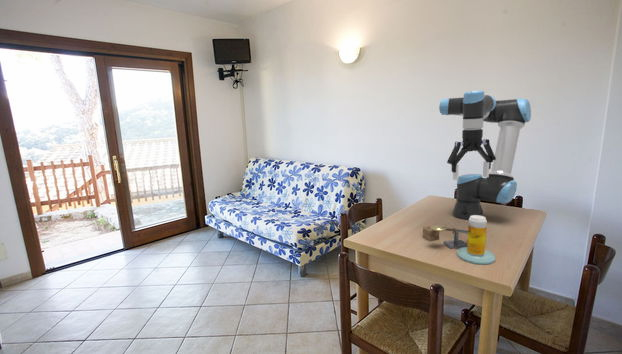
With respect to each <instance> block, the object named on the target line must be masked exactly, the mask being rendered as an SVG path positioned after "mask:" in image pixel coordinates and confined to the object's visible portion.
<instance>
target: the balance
mask: <svg viewBox="0 0 622 354" xmlns="http://www.w3.org/2000/svg"><path fill="white" fill-rule="evenodd" d="M430 226H431V229H432V230H434V231H439V232H445V231H447V232H452V234H453V240H443V245H445V246H446V247H447V248H448V249H449V250H456V249H457V250H458V249H460V248H463V247H467V244H468V243H466V242H465V241H463V240H462V239H459V234H460V233H462V234H467V235H468V230H463V229H457V228H455V227H453V228H449V227H446V226H444V225H441V224H433V225H430Z"/></svg>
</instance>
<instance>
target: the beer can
mask: <svg viewBox="0 0 622 354" xmlns="http://www.w3.org/2000/svg"><path fill="white" fill-rule="evenodd" d="M487 222H488V221H487V217H486V216H484V215H483V216H480V215H472V216H470V218H469V220H468V229H467V231H468V234H467V243H466V244H467V251H468V252H469V254H471V255H473V256H482V255H483V254H485V250H486V240H487V239H486V238H487V224H488V223H487Z"/></svg>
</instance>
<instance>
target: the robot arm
mask: <svg viewBox="0 0 622 354" xmlns="http://www.w3.org/2000/svg"><path fill="white" fill-rule="evenodd" d="M438 109H439V113H440V114H441V115H442V116H451V115H452V116H460V117H462V132H461V134H462V136H461V137H462V141H454V147H453V149H452V150H451V153H450V155H449V157H448V159H447V160H446V161H447V162H446V163H447V164H448V165H451V173H452V180H454V181H456V201H455V203H454V207H453V209H452V213H451V214H452V216H453V217H455V218H458V219H461V220H468V221H469V218H470V216H472V215H480V216H484V210H483V208H482V205H481V201H488V202H494V203H498V204H499V203H500V204H508V203H510V202H512V200H513V199H514V197H515V195H516V192H517V186H518V183H517V181H515V178H514V176H513V175H512V171H513V167H514V166H513V165H514V161H515V155H516V151H517V145H518V141H519V137H520V132H521V131H520V130H521V129H523V128H524V127H525V124H526V123H529V122H530V121H531V119H532V118H531V117H532V110H531V103H530V101H529V100H528V99H527V98H514V99H502V100H501V99H500V100H497V99H496V98H495V97H494V96H493V95H489V94H485V90H482V89H481V90H480V89H479V90H470V91H465V92H464V93H463V97H450V98H449V97H448V98H444V99H442V100H441V101H440V102H439V106H438ZM484 122H486V123H494V124H495V123H497V126H498V127H499V132H498V137H497V143H496V146H495V147H496V148H495V152H494V151H493V149H492V147H491V145H490V139H489V138H488V139H487V138H484V139H482V138H483V135H484V130H483V128H484ZM482 145H483V147H484V148H483V147H482ZM468 152H477V153H478V154H480V156H481V157H482V158H483V160H484V161H483V164H482V165H483V167H482V169H483V170H482V174H481V173H468V174H462V175H459V162H460V161H461V160H462V159H463V157H464V156H465V155H466V154H467V153H468ZM491 166H492V167H491ZM490 169H491V171H490Z"/></svg>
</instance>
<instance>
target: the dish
mask: <svg viewBox="0 0 622 354" xmlns="http://www.w3.org/2000/svg"><path fill="white" fill-rule="evenodd" d="M456 256H457V257H458V258H459V259H461V260H463V262H467V263H469V264H474V265H491V264H493V263H495V261H496V255H495V254H494V253H493V252H491V251H490V250H487V249H485V254H483V255H482V256H473V255H471V254H469V252H468V251H467V247H463V248H459V249H457V253H456Z"/></svg>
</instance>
